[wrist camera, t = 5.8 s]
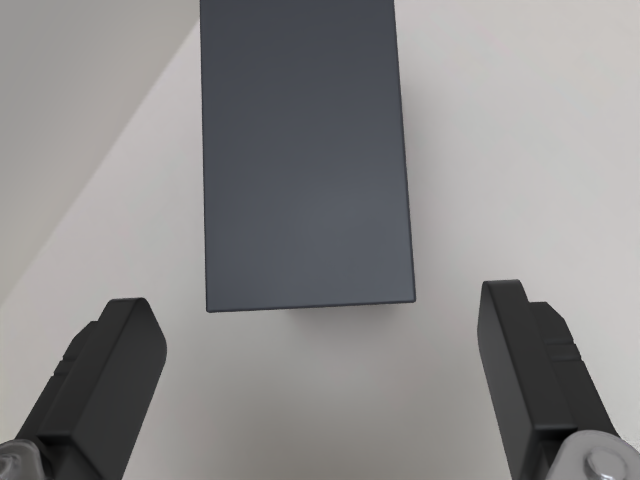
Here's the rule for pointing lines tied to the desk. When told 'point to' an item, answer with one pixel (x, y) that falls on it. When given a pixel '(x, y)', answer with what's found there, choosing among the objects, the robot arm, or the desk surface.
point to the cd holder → (303, 155)
